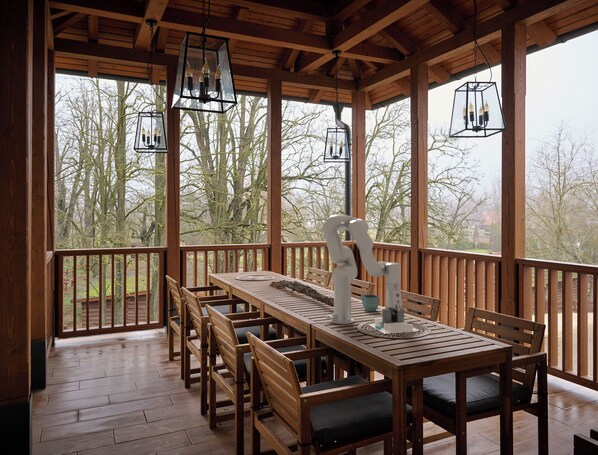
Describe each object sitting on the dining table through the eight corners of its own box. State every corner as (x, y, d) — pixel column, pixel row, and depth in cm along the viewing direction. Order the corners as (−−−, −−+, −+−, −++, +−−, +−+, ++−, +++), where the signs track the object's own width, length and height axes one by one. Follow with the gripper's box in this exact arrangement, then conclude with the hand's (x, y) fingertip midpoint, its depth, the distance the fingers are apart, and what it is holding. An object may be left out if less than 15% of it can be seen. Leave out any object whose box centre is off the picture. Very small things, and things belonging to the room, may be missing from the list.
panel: (384, 325, 244) (385, 310, 244) (382, 323, 247) (382, 308, 247) (403, 323, 247) (404, 308, 247) (401, 322, 250) (401, 307, 250)
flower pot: (366, 312, 286) (366, 297, 285) (360, 309, 294) (361, 295, 294) (379, 311, 288) (379, 297, 288) (373, 308, 297) (373, 294, 296)
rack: (384, 335, 235) (384, 327, 235) (367, 325, 254) (367, 318, 254) (419, 332, 240) (419, 324, 240) (400, 322, 259) (401, 316, 259)
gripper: (407, 288, 239) (407, 324, 240) (392, 283, 255) (392, 317, 256) (394, 289, 237) (393, 325, 238) (379, 284, 253) (379, 317, 254)
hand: (393, 320), depth 247 cm, fingers closed on panel, 3 cm apart
